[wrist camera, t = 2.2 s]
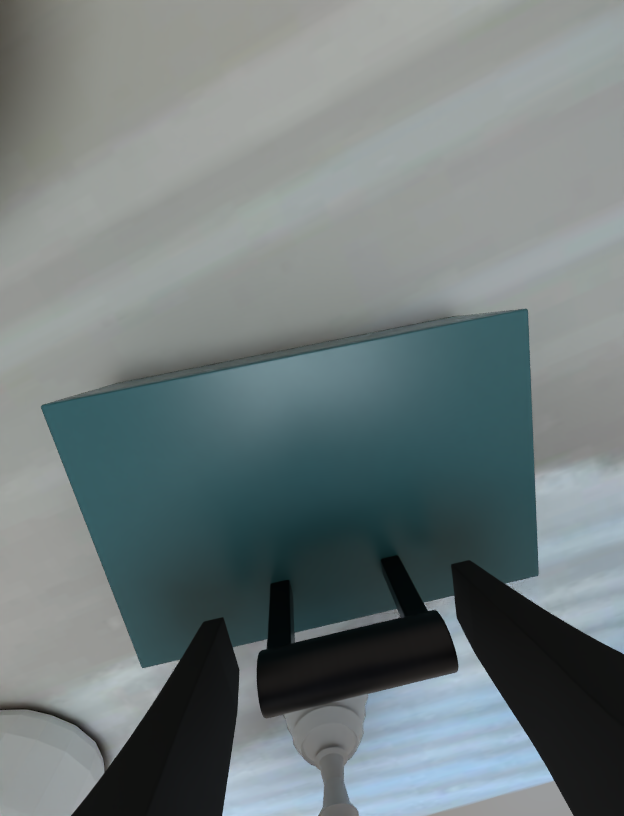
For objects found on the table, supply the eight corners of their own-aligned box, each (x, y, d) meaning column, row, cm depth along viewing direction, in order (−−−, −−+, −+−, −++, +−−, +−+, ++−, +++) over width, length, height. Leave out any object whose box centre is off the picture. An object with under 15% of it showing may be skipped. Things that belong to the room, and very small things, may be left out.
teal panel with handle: (530, 567, 13) (648, 678, 9) (146, 656, 13) (77, 821, 8) (517, 309, 11) (667, 293, 7) (50, 402, 10) (-113, 449, 6)
